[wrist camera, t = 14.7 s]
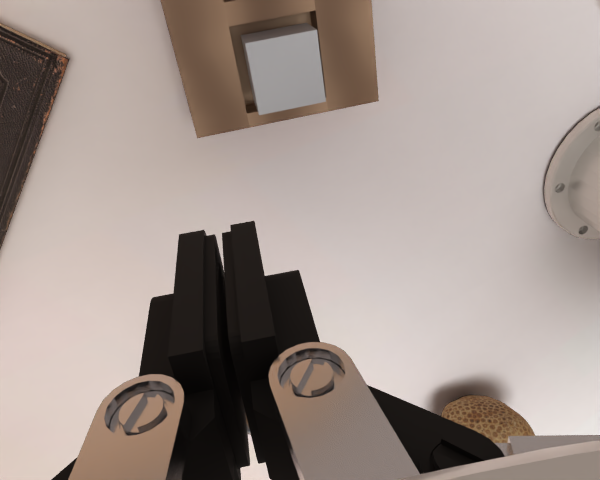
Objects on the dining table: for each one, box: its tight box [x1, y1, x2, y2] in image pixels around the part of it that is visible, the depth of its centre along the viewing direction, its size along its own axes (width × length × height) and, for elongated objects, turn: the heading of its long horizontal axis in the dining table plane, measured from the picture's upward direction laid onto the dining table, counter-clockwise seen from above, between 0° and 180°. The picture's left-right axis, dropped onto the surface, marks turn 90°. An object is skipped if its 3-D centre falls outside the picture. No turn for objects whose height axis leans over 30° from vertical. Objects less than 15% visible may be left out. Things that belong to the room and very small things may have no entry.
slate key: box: [241, 23, 326, 115], centre depth 30 cm, size 4×4×3 cm
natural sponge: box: [441, 395, 535, 443], centre depth 51 cm, size 9×9×10 cm
